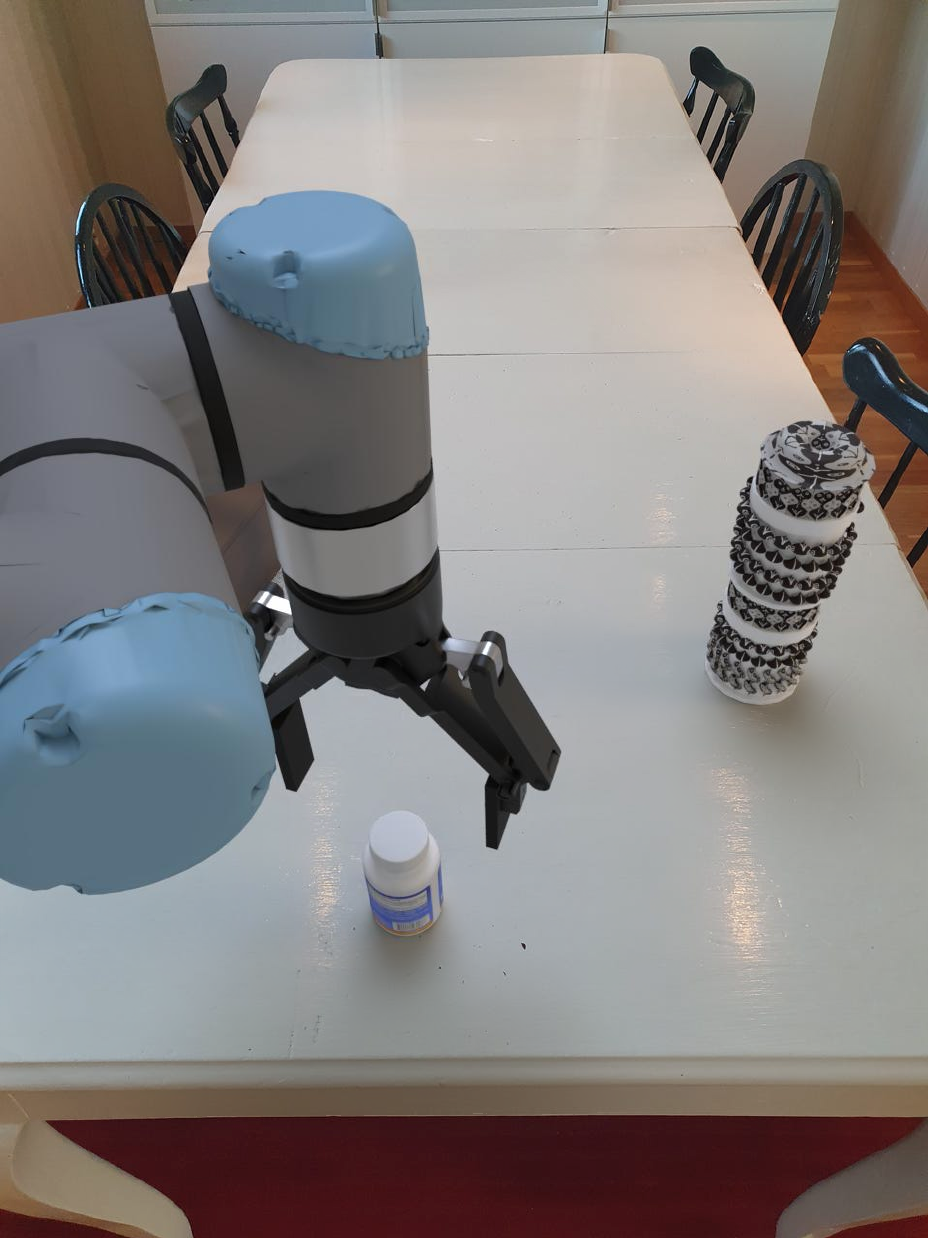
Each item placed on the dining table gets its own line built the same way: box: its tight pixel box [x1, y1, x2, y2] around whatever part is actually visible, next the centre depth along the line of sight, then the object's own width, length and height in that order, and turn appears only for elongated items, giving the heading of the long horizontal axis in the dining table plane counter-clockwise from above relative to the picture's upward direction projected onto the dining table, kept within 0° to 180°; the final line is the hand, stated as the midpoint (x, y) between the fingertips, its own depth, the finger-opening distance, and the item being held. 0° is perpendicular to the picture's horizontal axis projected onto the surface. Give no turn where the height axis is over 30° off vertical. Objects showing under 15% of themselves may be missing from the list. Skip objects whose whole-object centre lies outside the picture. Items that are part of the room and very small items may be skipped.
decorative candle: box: [704, 419, 877, 706], centre depth 74 cm, size 9×9×25 cm
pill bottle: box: [361, 810, 444, 937], centre depth 64 cm, size 5×5×10 cm
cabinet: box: [204, 481, 282, 615], centre depth 90 cm, size 15×13×10 cm
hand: (396, 801), depth 58 cm, fingers open, 13 cm apart
